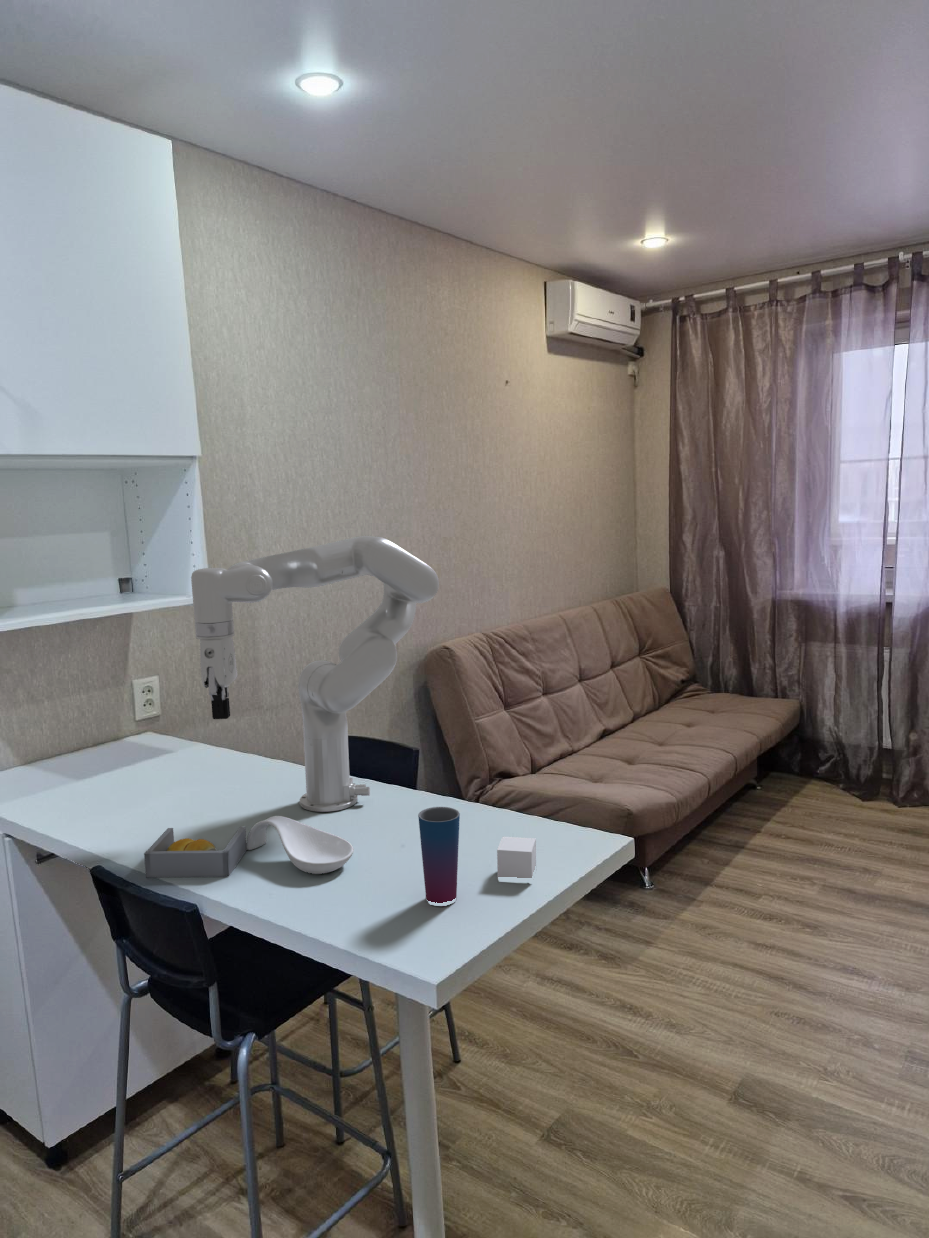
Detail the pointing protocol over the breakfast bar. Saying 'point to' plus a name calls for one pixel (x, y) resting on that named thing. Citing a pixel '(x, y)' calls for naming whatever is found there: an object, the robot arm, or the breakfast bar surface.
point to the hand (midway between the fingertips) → (221, 717)
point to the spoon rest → (304, 844)
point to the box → (193, 858)
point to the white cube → (516, 857)
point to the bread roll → (191, 845)
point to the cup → (439, 852)
